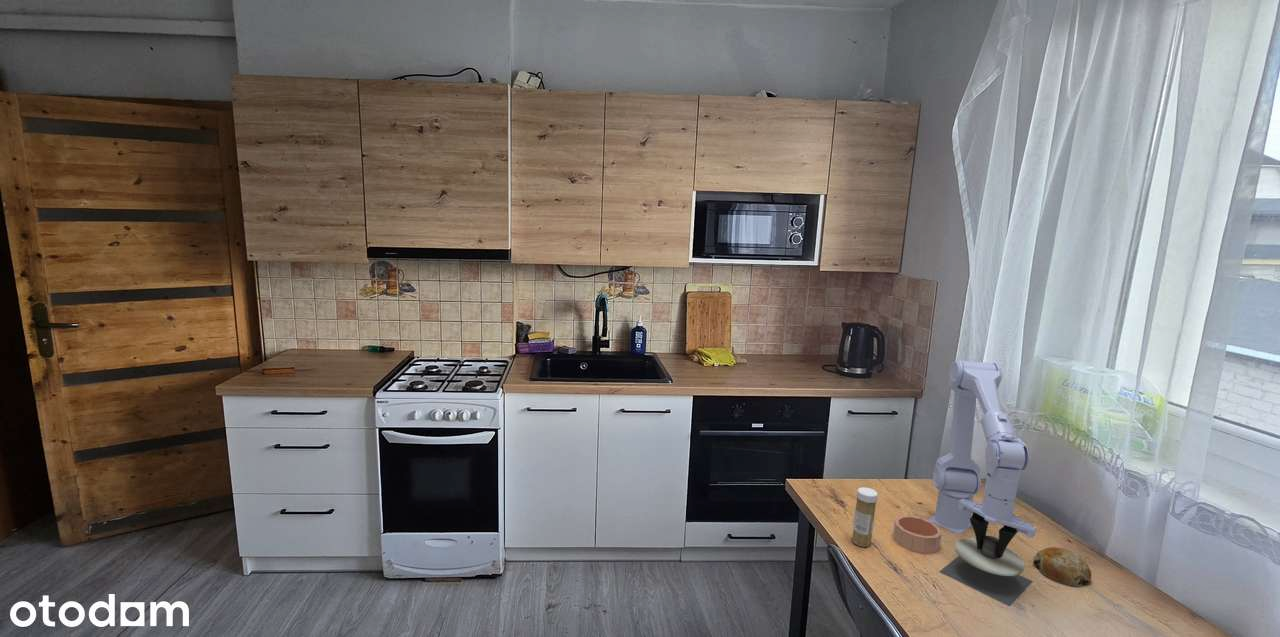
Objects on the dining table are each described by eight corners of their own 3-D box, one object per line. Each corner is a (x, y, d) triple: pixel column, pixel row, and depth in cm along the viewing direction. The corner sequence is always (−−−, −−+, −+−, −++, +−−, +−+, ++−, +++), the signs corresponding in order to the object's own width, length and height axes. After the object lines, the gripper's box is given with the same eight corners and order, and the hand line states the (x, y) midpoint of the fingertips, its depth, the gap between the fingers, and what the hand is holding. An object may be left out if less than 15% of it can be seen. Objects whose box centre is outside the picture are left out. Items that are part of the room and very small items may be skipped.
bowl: (904, 527, 146) (907, 511, 145) (945, 546, 138) (948, 529, 137) (885, 540, 139) (887, 523, 139) (926, 560, 132) (929, 542, 131)
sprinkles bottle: (875, 544, 137) (882, 492, 135) (863, 550, 135) (870, 497, 132) (858, 535, 141) (865, 484, 139) (847, 540, 138) (853, 489, 136)
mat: (964, 552, 136) (965, 550, 136) (1032, 583, 125) (1032, 581, 125) (938, 573, 127) (939, 571, 127) (1009, 608, 116) (1009, 606, 116)
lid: (969, 534, 134) (971, 517, 133) (1032, 561, 124) (1036, 543, 124) (945, 553, 126) (948, 535, 125) (1011, 583, 116) (1015, 564, 115)
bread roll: (1060, 604, 124) (1084, 583, 120) (1019, 562, 132) (1041, 541, 127) (1084, 592, 129) (1108, 572, 125) (1043, 552, 136) (1065, 532, 132)
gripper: (956, 486, 125) (947, 542, 128) (1032, 514, 114) (1020, 575, 117) (969, 478, 130) (960, 532, 132) (1043, 504, 119) (1032, 563, 121)
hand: (989, 552), depth 125 cm, fingers closed on lid, 3 cm apart
